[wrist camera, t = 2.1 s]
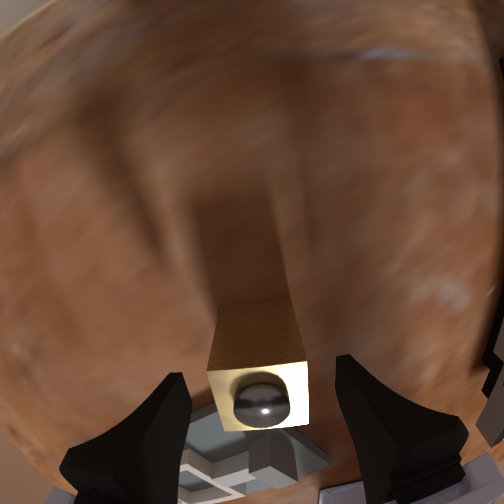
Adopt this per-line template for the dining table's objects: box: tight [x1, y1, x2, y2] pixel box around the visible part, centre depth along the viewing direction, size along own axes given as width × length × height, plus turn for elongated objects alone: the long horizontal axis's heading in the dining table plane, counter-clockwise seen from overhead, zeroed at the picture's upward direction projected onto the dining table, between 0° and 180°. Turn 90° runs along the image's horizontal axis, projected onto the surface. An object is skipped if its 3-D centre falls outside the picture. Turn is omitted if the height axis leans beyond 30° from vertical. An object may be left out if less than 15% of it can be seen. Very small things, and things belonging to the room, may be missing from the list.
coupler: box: [206, 297, 309, 431], centre depth 14 cm, size 4×4×7 cm
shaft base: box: [178, 402, 330, 504], centre depth 20 cm, size 22×12×4 cm, turn 127°
